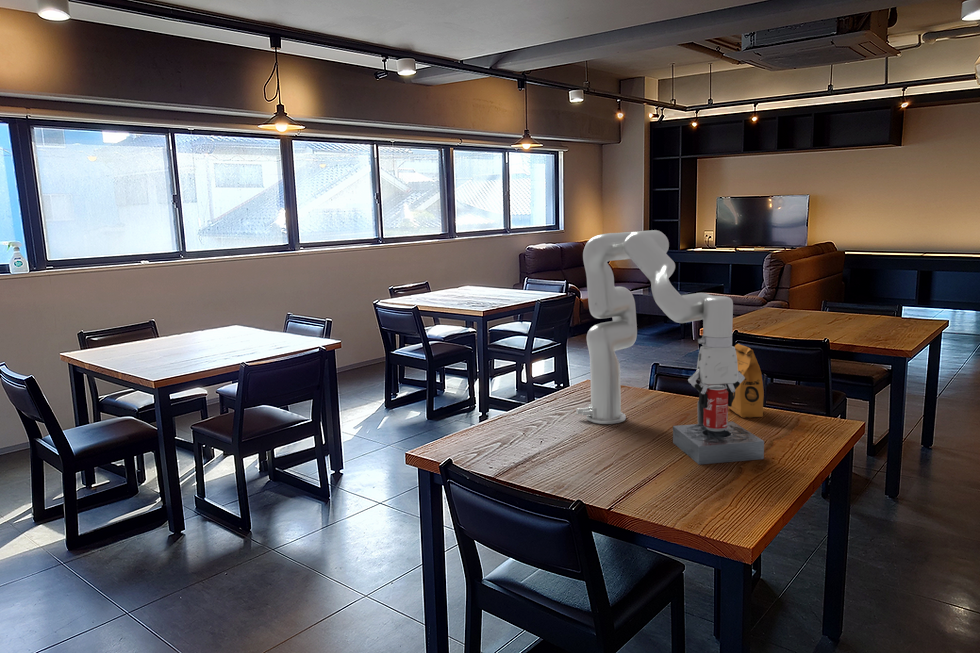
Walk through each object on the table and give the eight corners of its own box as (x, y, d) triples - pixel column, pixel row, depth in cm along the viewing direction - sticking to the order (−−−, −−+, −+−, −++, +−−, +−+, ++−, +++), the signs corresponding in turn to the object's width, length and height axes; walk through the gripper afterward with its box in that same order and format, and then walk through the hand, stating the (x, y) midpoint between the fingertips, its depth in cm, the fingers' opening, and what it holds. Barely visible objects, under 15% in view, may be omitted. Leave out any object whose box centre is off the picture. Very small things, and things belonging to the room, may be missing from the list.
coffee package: (736, 419, 217) (737, 351, 213) (723, 408, 229) (723, 343, 225) (767, 418, 217) (769, 349, 213) (752, 407, 229) (754, 342, 225)
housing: (698, 464, 180) (698, 446, 179) (672, 442, 198) (672, 425, 197) (763, 459, 182) (764, 441, 181) (732, 437, 200) (732, 421, 199)
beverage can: (708, 423, 193) (708, 382, 191) (730, 427, 190) (731, 385, 188) (700, 429, 188) (700, 387, 186) (722, 433, 185) (724, 390, 183)
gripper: (691, 346, 180) (690, 411, 184) (754, 342, 182) (752, 408, 185) (681, 341, 188) (680, 404, 191) (741, 337, 189) (739, 400, 192)
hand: (715, 405), depth 188 cm, fingers closed on beverage can, 6 cm apart
